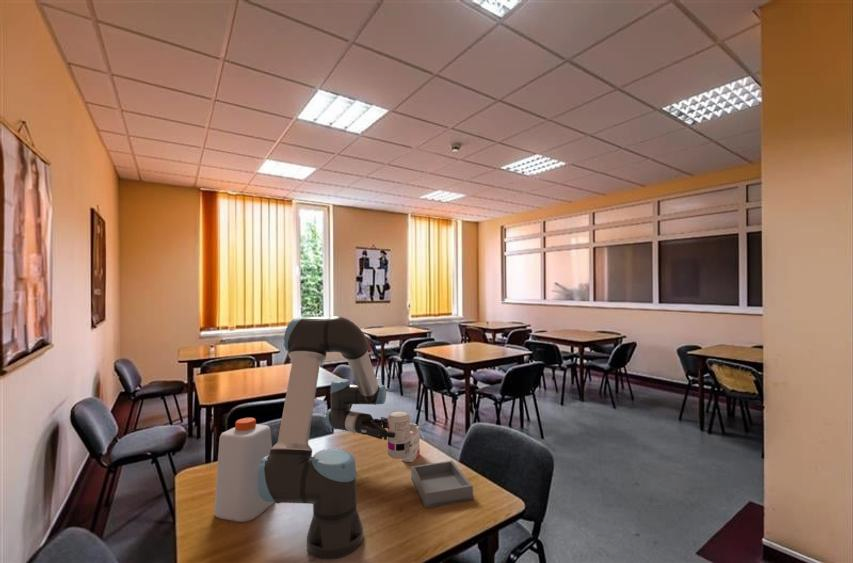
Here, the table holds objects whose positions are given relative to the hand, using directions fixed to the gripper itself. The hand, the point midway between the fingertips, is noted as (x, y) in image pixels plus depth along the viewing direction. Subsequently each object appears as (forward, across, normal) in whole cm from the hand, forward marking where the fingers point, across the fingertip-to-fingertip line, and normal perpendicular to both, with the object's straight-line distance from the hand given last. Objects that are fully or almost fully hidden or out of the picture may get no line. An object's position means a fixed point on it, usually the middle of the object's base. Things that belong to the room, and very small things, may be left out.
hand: (410, 432), depth 139 cm
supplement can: (-5, 0, -9) cm, 10 cm away
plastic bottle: (-39, +38, -18) cm, 57 cm away
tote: (+12, 0, -18) cm, 21 cm away
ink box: (-10, -18, -18) cm, 27 cm away
